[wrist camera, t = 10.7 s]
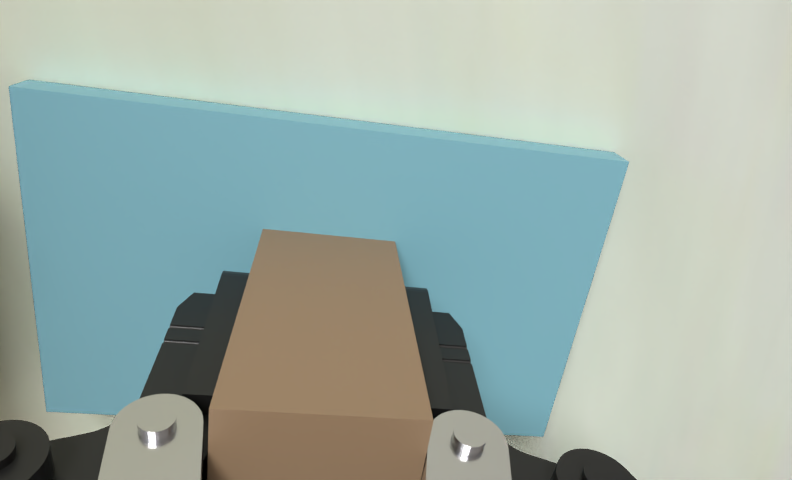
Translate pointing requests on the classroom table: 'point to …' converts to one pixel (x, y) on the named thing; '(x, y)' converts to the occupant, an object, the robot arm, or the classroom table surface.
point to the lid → (302, 267)
